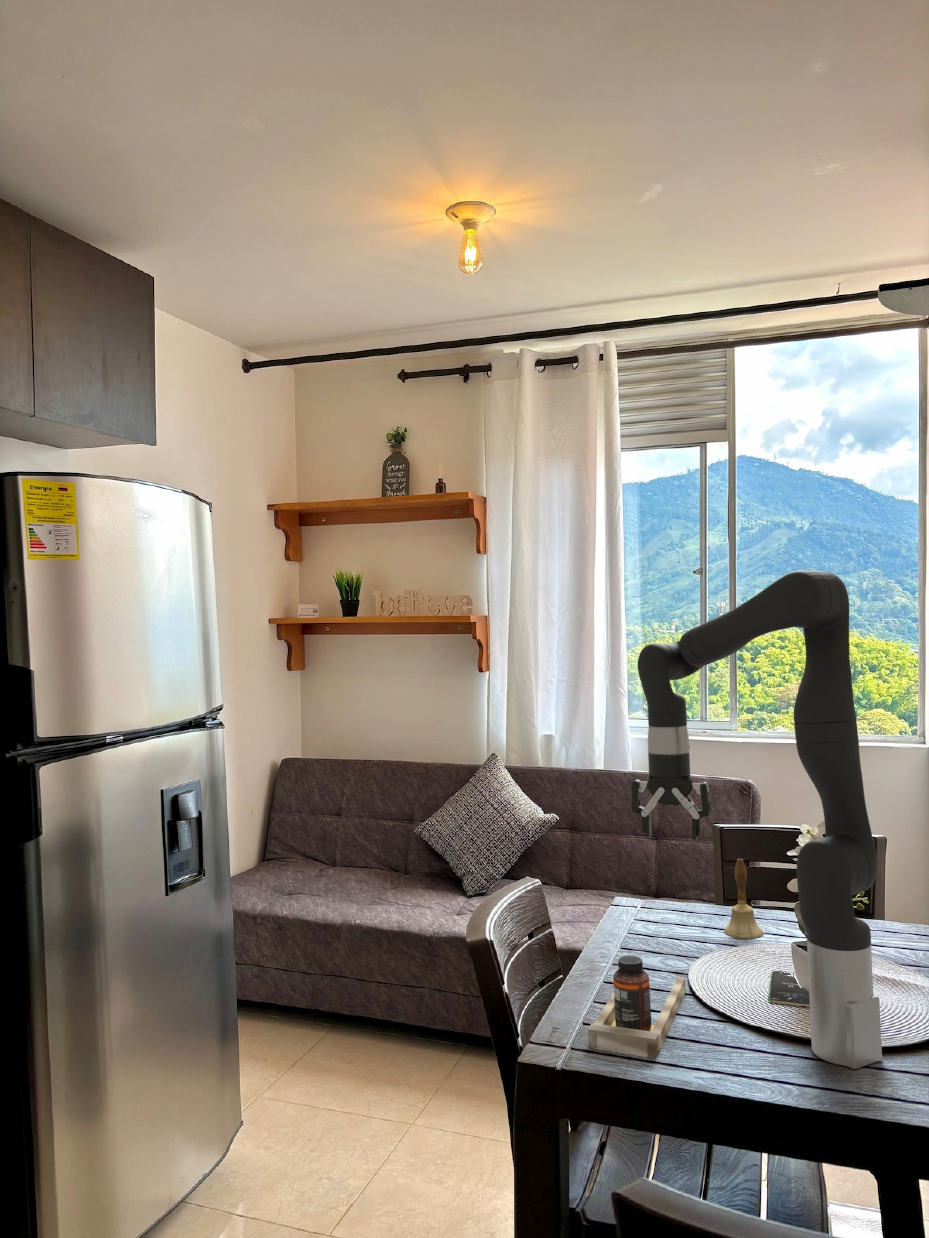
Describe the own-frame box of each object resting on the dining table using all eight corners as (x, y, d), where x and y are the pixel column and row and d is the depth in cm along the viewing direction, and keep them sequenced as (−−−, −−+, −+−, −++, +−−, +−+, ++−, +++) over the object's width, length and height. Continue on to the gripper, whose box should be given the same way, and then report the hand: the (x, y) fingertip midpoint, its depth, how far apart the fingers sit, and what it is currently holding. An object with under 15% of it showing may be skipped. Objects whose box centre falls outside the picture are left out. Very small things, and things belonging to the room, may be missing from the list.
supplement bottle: (649, 1020, 148) (647, 952, 149) (653, 1036, 142) (650, 965, 143) (614, 1019, 149) (611, 952, 149) (616, 1035, 143) (613, 965, 143)
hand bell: (716, 931, 193) (713, 858, 194) (740, 923, 198) (737, 853, 198) (746, 941, 186) (743, 866, 187) (771, 933, 191) (768, 859, 191)
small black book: (813, 973, 166) (813, 1004, 152) (813, 978, 166) (813, 1010, 152) (771, 969, 169) (767, 999, 155) (771, 974, 169) (767, 1004, 155)
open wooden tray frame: (627, 983, 165) (627, 967, 166) (685, 990, 161) (685, 974, 161) (588, 1047, 140) (588, 1029, 140) (656, 1058, 135) (655, 1039, 136)
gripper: (626, 751, 162) (629, 839, 162) (704, 753, 157) (708, 844, 156) (634, 746, 169) (638, 831, 169) (710, 748, 163) (714, 835, 163)
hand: (671, 837), depth 162 cm, fingers open, 8 cm apart
